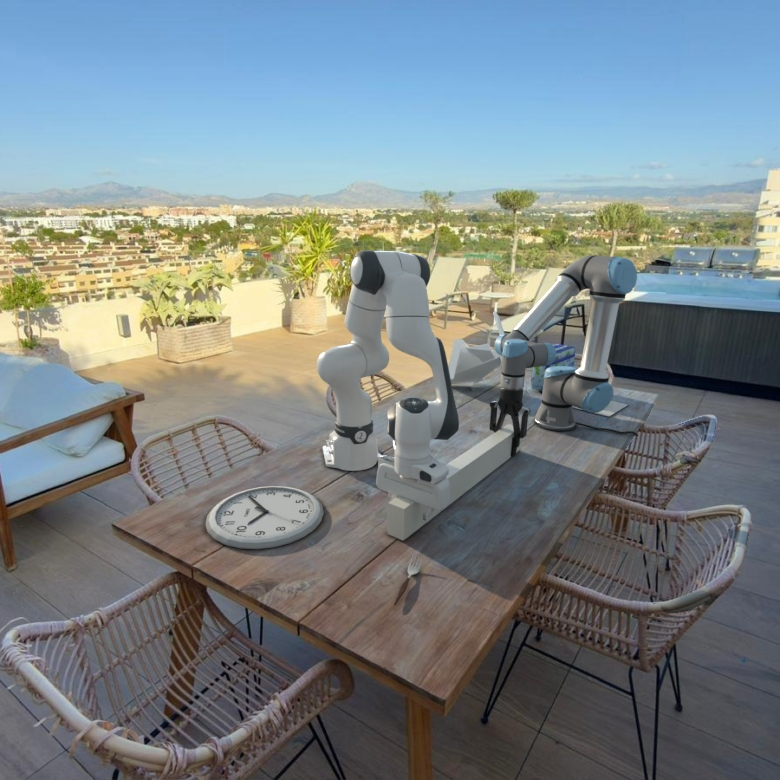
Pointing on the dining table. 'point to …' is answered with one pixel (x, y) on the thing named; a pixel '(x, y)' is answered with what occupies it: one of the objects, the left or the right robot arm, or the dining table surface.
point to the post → (454, 481)
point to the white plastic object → (475, 360)
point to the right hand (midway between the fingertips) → (505, 452)
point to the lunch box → (553, 364)
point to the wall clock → (264, 517)
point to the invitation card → (610, 408)
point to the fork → (412, 571)
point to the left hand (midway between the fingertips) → (411, 513)
